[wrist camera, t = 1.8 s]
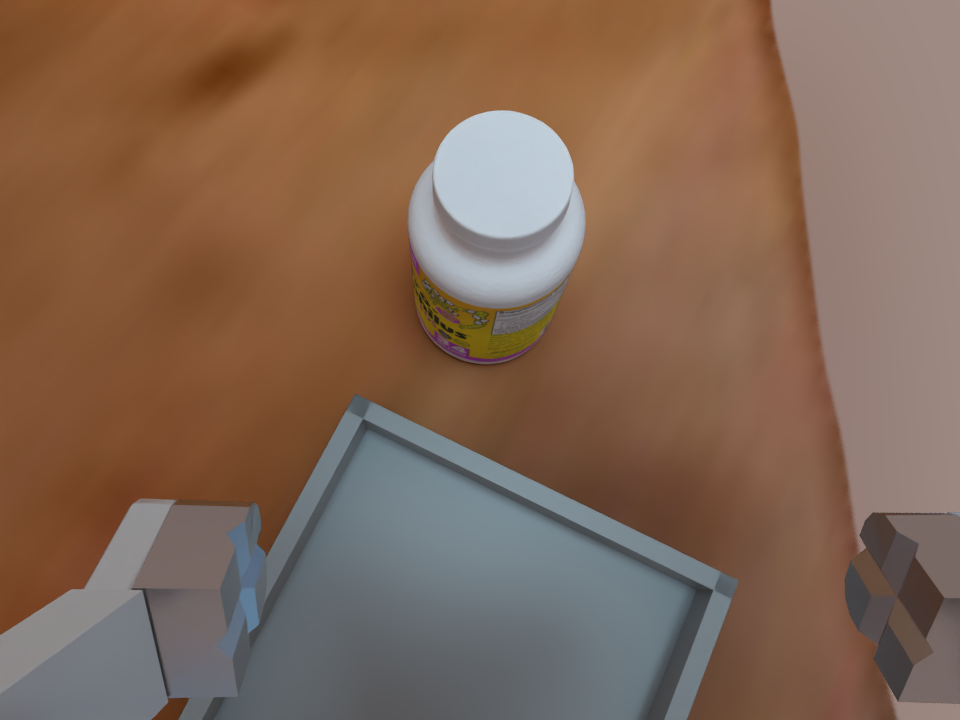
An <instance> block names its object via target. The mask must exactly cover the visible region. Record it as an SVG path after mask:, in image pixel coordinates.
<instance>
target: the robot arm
mask: <svg viewBox="0 0 960 720" xmlns="http://www.w3.org/2000/svg"><path fill="white" fill-rule="evenodd" d="M261 528H262V524H261V518H260V512H259V507H258V506H257V504H256V503H255V502H234V501H208V500H182V499H179V500H167V499H139V500H138V501H136V502H135V503H133V504H132V505H131V506H130V508H129V510H128V511H127V513H126V515H125V517H124V518H123V520H122V522H121V524H120V526H119V527H118V529H117V531H116V533H115V534H114V536H113V538H112V540H111V541H110V543H109V545H108V547H107V549H106V550H105V552H104V554H103V556H102V557H101V559H100V561H99V563H98V564H97V566H96V568H95V570H94V571H93V573H92V575H91V577H90V579H89V580H88V582H87V584H86V586H85V587H84V589H71V590H70V591H68V592H66V593H65V594H63V595H62V596H60V597H59V598H57V599H56V600H54V601H53V602H51V603H49V604H48V605H46V606H45V607H43V608H42V609H40V610H39V611H37V612H36V613H34V614H32V615H31V616H29V617H28V618H26V619H25V620H23V621H22V622H20V623H18V624H17V625H15V626H14V627H12V628H11V629H9V630H8V631H6V632H5V633H3V634H1V635H0V720H152V718H153V717H154V716H155V715H156V714H157V713H158V712H159V711H160V710H161V709H162V708H163V707H164V706H165V705H166V704H167V703H168V698H202V697H238V696H239V692H240V689H241V685H242V682H243V678H244V675H245V672H246V668H247V665H248V661H249V658H250V655H251V648H250V641H249V634H248V633H250V632H251V631H252V630H253V629H254V628H255V627H257V626H258V625H259V623H260V619H261V615H262V612H263V608H264V602H265V594H266V587H267V564H266V555H265V552H264V551H263V550H262V549H261V548H260V547H259V546H258V545H257V544H256V543H257V540H258V537H259V534H260V531H261ZM860 537H861V539H862V541H863V543H864V544H865V546H866V549H864V550H863V551H862V552H861V553H859V554H858V555H857V556H856V557H854V558H853V559H852V560H851V561H850V564H849V567H848V571H847V574H846V577H845V597H846V603H847V606H848V610H849V613H850V616H851V618H852V620H853V621H854V623H855V625H856V627H857V629H858V631H859V632H861V633H862V634H864V635H865V636H866V637H868V638H869V639H871V640H872V641H873V642H875V643H876V644H877V649H876V652H875V656H874V660H875V662H876V663H877V665H878V667H879V669H880V670H881V672H882V674H883V676H884V678H885V679H886V681H887V683H888V685H889V686H890V688H891V690H892V692H893V693H894V695H895V697H896V699H897V701H898V702H922V703H950V704H951V703H952V704H960V512H948V513H946V514H945V513H872V514H871V515H870V516H869V517H868V518H867V519H866V521H865V523H864V525H863V528H862V530H861V533H860Z"/></svg>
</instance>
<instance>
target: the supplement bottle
mask: <svg viewBox="0 0 960 720" xmlns="http://www.w3.org/2000/svg"><path fill="white" fill-rule="evenodd" d="M585 225H586V223H585V211H584V205H583V201H582V198H581V195H580V192H579V190H578V187H577V185H576V184H575V182H574V171H573V164H572V160H571V157H570V155H569V152H568V150H567V148H566V146H565V144H564V143H563V142H562V140H561V139H560V137H559V136H558V135H557V134H556V133H555V132H554V131H553V130H552V129H551V128H550V127H548V126H547V125H546V124H544V123H543V122H541V121H539V120H537V119H535V118H534V117H531V116H529V115H526V114H522V113H518V112H514V111H489V112H485V113H481V114H477V115H475V116H472V117H470V118H468V119H466V120H464V121H463V122H461V123H460V124H458V125H457V126H456V127H455V128H454V129H452V130H451V131H450V132H449V133H448V135H447V136H446V137H445V138H444V140H443V141H442V143H441V144H440V146H439V148H438V150H437V153H436V155H435V158H434V161H433V162H432V163H431V164H430V165H429V166H428V167H427V168H426V170H425V171H424V172H423V174H422V175H421V177H420V178H419V180H418V182H417V184H416V186H415V188H414V190H413V193H412V196H411V199H410V203H409V210H408V234H409V241H410V253H411V264H412V276H413V287H414V297H415V304H416V309H417V314H418V317H419V320H420V322H421V324H422V326H423V328H424V330H425V332H426V333H427V334H428V336H429V337H430V338H431V340H432V341H433V342H434V343H435V344H436V345H437V346H438V347H440V348H441V349H442V350H443V351H445V352H446V353H448V354H450V355H451V356H453V357H455V358H458V359H460V360H463V361H466V362H470V363H476V364H496V363H502V362H506V361H509V360H512V359H514V358H516V357H518V356H520V355H522V354H523V353H525V352H526V351H528V350H529V349H530V348H532V347H533V346H534V345H535V344H536V343H537V342H538V341H539V339H540V338H541V337H542V335H543V334H544V333H545V331H546V329H547V327H548V326H549V324H550V322H551V320H552V317H553V315H554V312H555V310H556V308H557V305H558V303H559V301H560V298H561V296H562V293H563V291H564V289H565V286H566V284H567V281H568V279H569V277H570V274H571V272H572V270H573V268H574V265H575V263H576V261H577V259H578V256H579V253H580V251H581V248H582V244H583V240H584V235H585Z"/></svg>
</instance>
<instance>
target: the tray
mask: <svg viewBox="0 0 960 720" xmlns="http://www.w3.org/2000/svg"><path fill="white" fill-rule="evenodd" d="M266 564H267V587H266V594H265V602H264V608H263V612H262V615H261V619H260V623H259V625H258V626H257V627H255V628H254V629H253V630H252V631H251V632H250V633H248V634H249V641H250V648H251V655H250V658H249V661H248V665H247V668H246V672H245V675H244V678H243V682H242V685H241V689H240V692H239V696H238V697H202V698H190V699H189V701H188V703H187V704H186V706H185V708H184V710H183V712H182V714H181V715H180V717H179V719H178V720H687V718H688V715H689V712H690V710H691V707H692V704H693V702H694V699H695V696H696V694H697V691H698V688H699V686H700V683H701V680H702V678H703V675H704V672H705V670H706V667H707V664H708V662H709V659H710V656H711V653H712V651H713V648H714V645H715V643H716V640H717V637H718V635H719V632H720V629H721V627H722V624H723V621H724V619H725V616H726V613H727V611H728V608H729V605H730V603H731V600H732V597H733V595H734V592H735V589H736V587H737V584H738V581H739V580H736V579H734V578H732V577H730V576H728V575H726V574H724V573H722V572H720V571H718V570H716V569H714V568H712V567H710V566H708V565H706V564H704V563H702V562H699V561H697V560H695V559H693V558H691V557H689V556H687V555H685V554H683V553H681V552H679V551H677V550H675V549H673V548H671V547H669V546H667V545H665V544H663V543H660V542H658V541H656V540H654V539H652V538H650V537H648V536H646V535H644V534H642V533H640V532H638V531H636V530H634V529H632V528H630V527H628V526H626V525H623V524H621V523H619V522H617V521H615V520H613V519H611V518H609V517H607V516H605V515H603V514H601V513H599V512H597V511H595V510H593V509H591V508H589V507H587V506H584V505H582V504H580V503H578V502H576V501H574V500H572V499H570V498H568V497H566V496H564V495H562V494H560V493H558V492H556V491H554V490H552V489H550V488H548V487H545V486H543V485H541V484H539V483H537V482H535V481H533V480H531V479H529V478H527V477H525V476H523V475H521V474H519V473H517V472H515V471H513V470H511V469H508V468H506V467H504V466H502V465H500V464H498V463H496V462H494V461H492V460H490V459H488V458H486V457H484V456H482V455H480V454H478V453H476V452H474V451H472V450H469V449H467V448H465V447H463V446H461V445H459V444H457V443H455V442H453V441H451V440H449V439H447V438H445V437H443V436H441V435H439V434H437V433H435V432H433V431H430V430H428V429H426V428H424V427H422V426H420V425H418V424H416V423H414V422H412V421H410V420H408V419H406V418H404V417H402V416H400V415H398V414H396V413H393V412H391V411H389V410H387V409H385V408H383V407H381V406H379V405H377V404H375V403H373V402H371V401H369V400H367V399H365V398H363V397H361V396H359V395H357V394H355V395H354V397H353V399H352V401H351V402H350V404H349V406H348V408H347V410H346V412H345V414H344V415H343V417H342V419H341V421H340V423H339V425H338V426H337V428H336V430H335V432H334V434H333V436H332V437H331V439H330V441H329V443H328V445H327V447H326V449H325V450H324V452H323V454H322V456H321V458H320V460H319V461H318V463H317V465H316V467H315V469H314V471H313V472H312V474H311V476H310V478H309V480H308V482H307V483H306V485H305V487H304V489H303V491H302V493H301V495H300V496H299V498H298V500H297V502H296V504H295V506H294V507H293V509H292V511H291V513H290V515H289V517H288V518H287V520H286V522H285V524H284V526H283V528H282V529H281V531H280V533H279V535H278V537H277V539H276V541H275V542H274V544H273V546H272V548H271V550H270V552H269V553H268V555H267V557H266Z"/></svg>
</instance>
